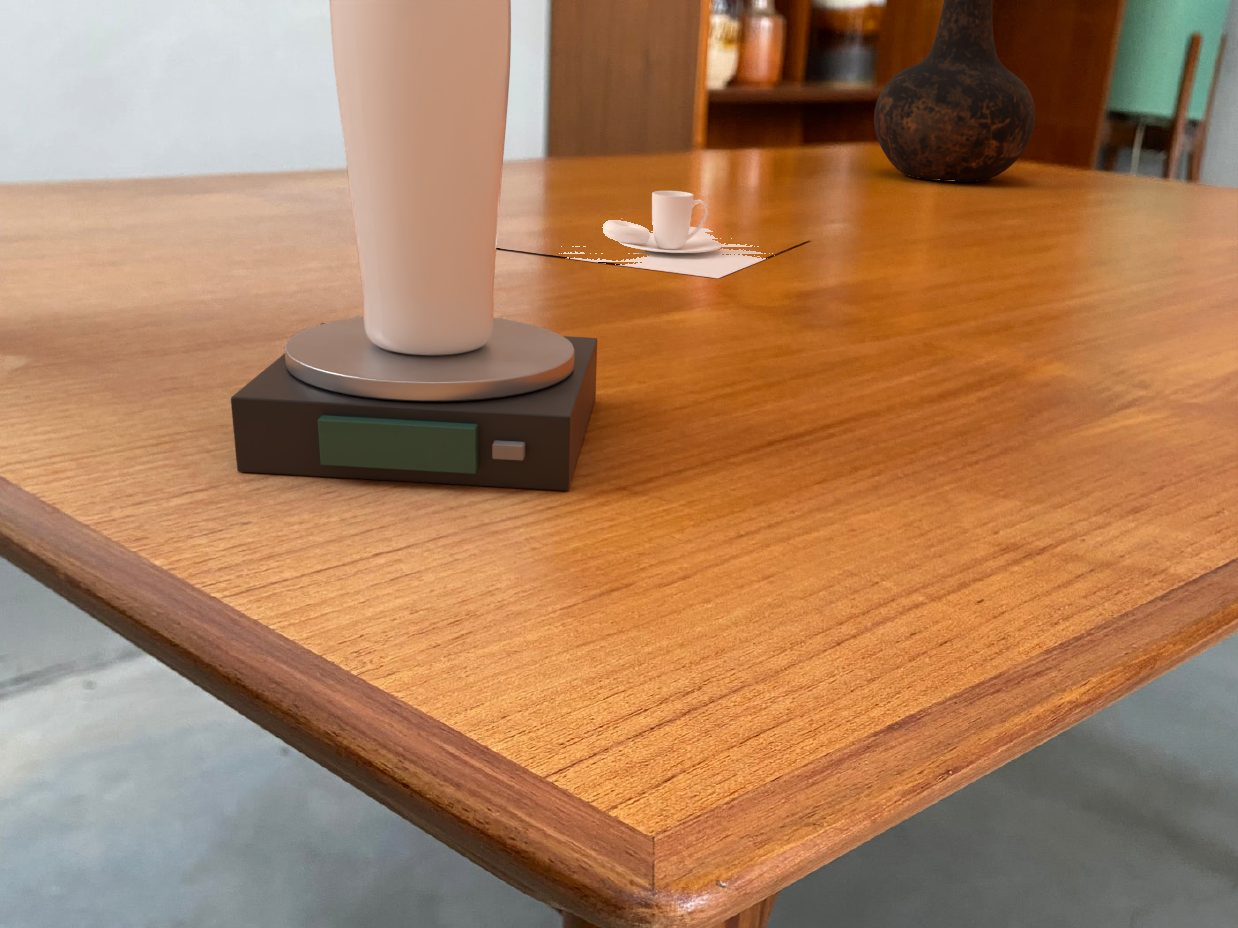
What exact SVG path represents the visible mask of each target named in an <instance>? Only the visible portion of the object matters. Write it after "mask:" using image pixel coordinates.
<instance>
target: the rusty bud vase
mask: <svg viewBox="0 0 1238 928" xmlns="http://www.w3.org/2000/svg"><path fill="white" fill-rule="evenodd" d="M993 24H994V23H993V0H943V3H942V9H941V14H940V18H939V22H938V26H937V30H936V34H935V37H934V40H933V43H932V46H931V48H930V50H929V52H928V53H927V55H926V56H925V57H924V58H923V59H922V60H921V61H920V62H918V63H916V64H914V65H912V66H909V67H906V68H904V69H903V70H901V71H899V72H898V73H896V74H895V75H894V76H893V77H892V78H891V79H890V80H889V81H887V83H886V84H885V85H884V87H883V88H882V90H881V91H880V93H879V95H878V98H877V100H876V103H875V107H874V112H873V113H874V115H873V124H874V131H875V135H876V137H877V141H878V143H879V144H878V145H880V148H881V150H882V152H883V153H884V155H885V157H886V158H887V160H888V161H889V162H890V164H891V165H892V166H893V167H894V168H895V169H896V170H898V172H900V173H901V174H904V175H905V174H906V175H905V176H907V175H910V176H914V177H919V178H918V179H920V178H927V179H926V180H928V179H940V180H955V181H974V182H977V181H976V180H983V181H986V179H987V180H989V179H990V180H991V179H993V178H995V177H997V176H999V175H1001V174H1002V173H1004V172H1006V171H1007V170H1008V169H1009V168H1010V167H1012V166H1013V165H1014V164H1015V162H1016V161H1018V159H1019V158H1020V157H1021V155H1022V154H1024V152H1025V150H1026V148H1027V146H1028V145H1029V142H1030V140H1031V138H1032V134H1033V132H1034V128H1035V123H1036V107H1035V103H1034V99H1033V95H1032V94H1031V91H1030V90H1029V88H1028V87H1027V85H1026V84H1025V82H1024V81H1023V80H1022V79H1020V78H1019V77H1018V76H1017V75H1016V74H1014V73H1013V72H1012V71H1010V70H1009V69H1007V68H1006V66H1004V65H1003V64H1002V62H1001V61H1000V59H999V57H998V55H997V51H996V45H995V37H994V25H993ZM910 176H909V177H910ZM914 177H913V178H914Z"/></svg>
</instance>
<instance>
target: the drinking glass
mask: <svg viewBox="0 0 1238 928" xmlns="http://www.w3.org/2000/svg"><path fill="white" fill-rule="evenodd" d="M511 2H512V0H329V22H330V36H331V37H330V38H331V50H332V61H333V62H332V63H333V71H334V80H335V87H336V95H337V103H338V111H339V119H340V127H341V133H342V140H343V141H342V142H343V149H344V155H345V156H344V157H345V164H346V172H347V179H348V186H349V194H350V201H351V211H352V218H353V225H354V233H355V234H354V235H355V241H356V251H357V257H358V265H359V274H360V282H361V289H362V290H361V295H362V317H363V318H364V329H365V333H366V335H367V337H368V339H369V340H370V341H371V342H372V343H373V344H375V345H376V346H378V347H380V348H382V349H385V350H388V351H392V352H397V353H402V354H410V355H427V356H436V355H452V354H460V353H465V352H469V351H473V350H476V349H478V348H480V347H482V346H484V345H485V344H486V343H487V342H488V341H489V340H490V338H491V336H492V333H493V318H494V287H495V270H496V256H497V249H496V245H497V239H498V232H499V231H498V230H499V217H500V204H501V193H502V192H501V191H502V179H503V178H502V177H503V165H504V154H505V141H506V140H505V139H506V129H507V128H506V127H507V116H508V107H509V105H508V104H509V91H510V74H511V54H512V53H511V52H512V50H511V48H512V5H511V4H512V3H511Z"/></svg>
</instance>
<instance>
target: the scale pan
mask: <svg viewBox="0 0 1238 928" xmlns="http://www.w3.org/2000/svg"><path fill="white" fill-rule="evenodd" d="M324 323H325V324H321V323H320V324H321V325H320V324H318V325H317V324H316V325H314V326H312V327H308V328H305V329H303V330H301V331H299V332H297V333H295V334H293V335H292V336H291V337H289V338H288V339H287V340H286V343H285V346H284V353H285V361H286V367H287V369H288V370H289V372H290V373H291V374H292V375H293V376H294V377H296V378H297V379H299V380H301V381H303V382H305V383H307V384H310V385H313V386H315V387H318V388H322V389H325V390H329V391H332V392H337V393H342V394H346V395H352V396H358V397H364V398H373V399H382V400H394V401H412V402H457V401H474V400H486V399H495V398H503V397H509V396H515V395H520V394H525V393H530V392H534V391H537V390H541V389H544V388H547V387H550V386H552V385H555V384H557V383H559V382H561V381H563V380H564V379H566V378H567V377H568V376H569V375H570V374H571V373H572V371H573V369H574V348H573V345H572V343H571V342H570V341H569V340H568V339H566V338H565V337H563V336H564V335H562V334H559V333H557V332H555V331H554V330H550V329H548V328H546V327H545V328H544V327H541V326H538V325H534V324H530V323H526V322H523V321H522V322H521V321H517V320H510V319H505V318H499V317H493V333H492V336H491V338H490V340H489V341H488V342H487V343H486V344H485V345H484V346H482V347H480V348H478V349H476V350H473V351H469V352H465V353H460V354H452V355H436V356H427V355H410V354H402V353H397V352H392V351H388V350H385V349H382V348H380V347H378V346H376V345H375V344H373V343H372V342H371V341H370V340H369V339H368V337H367V335H366V333H365V329H364V318H363V316H358V317H357V316H356V317H351V318H345V319H338V320H333V321H329V322H324Z"/></svg>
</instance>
